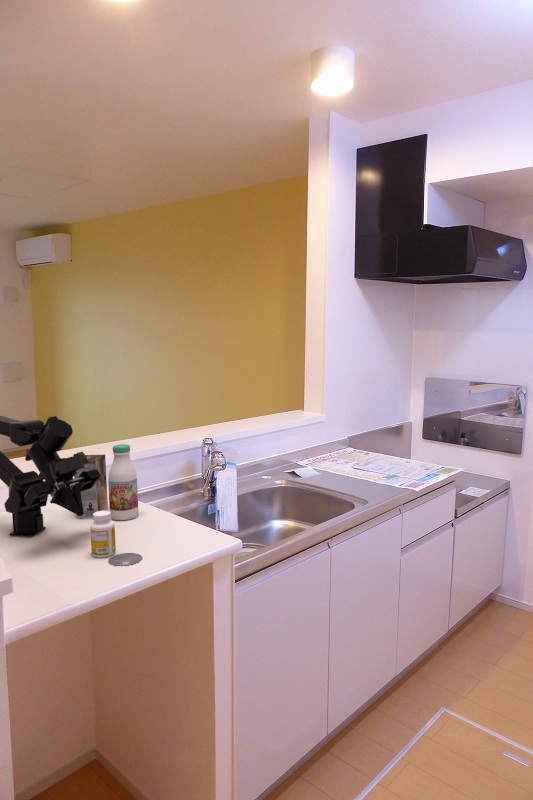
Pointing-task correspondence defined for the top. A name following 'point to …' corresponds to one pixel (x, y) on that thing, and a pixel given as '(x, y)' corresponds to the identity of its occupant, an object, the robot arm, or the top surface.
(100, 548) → the supplement bottle
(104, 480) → the coffee box
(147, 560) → the top surface
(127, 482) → the milk bottle
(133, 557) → the coaster
